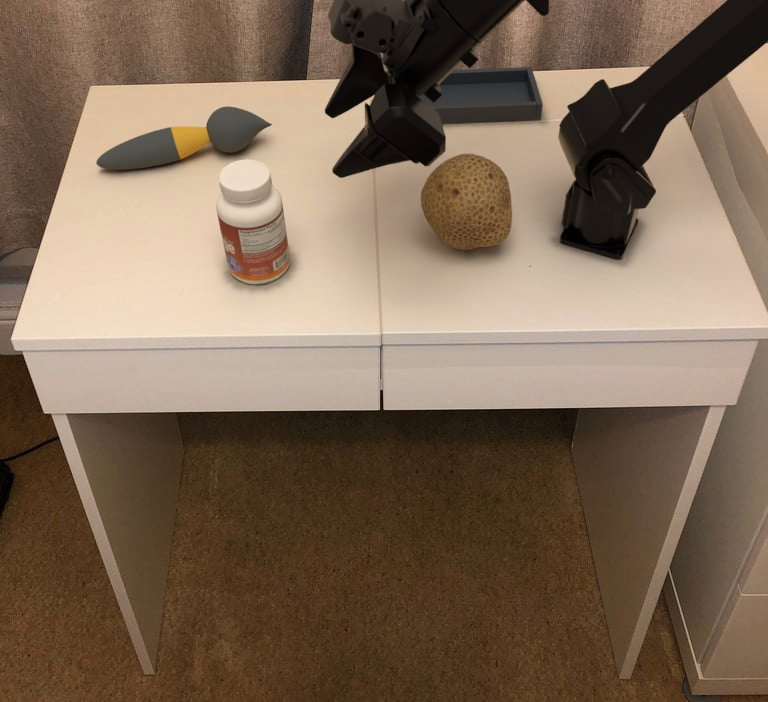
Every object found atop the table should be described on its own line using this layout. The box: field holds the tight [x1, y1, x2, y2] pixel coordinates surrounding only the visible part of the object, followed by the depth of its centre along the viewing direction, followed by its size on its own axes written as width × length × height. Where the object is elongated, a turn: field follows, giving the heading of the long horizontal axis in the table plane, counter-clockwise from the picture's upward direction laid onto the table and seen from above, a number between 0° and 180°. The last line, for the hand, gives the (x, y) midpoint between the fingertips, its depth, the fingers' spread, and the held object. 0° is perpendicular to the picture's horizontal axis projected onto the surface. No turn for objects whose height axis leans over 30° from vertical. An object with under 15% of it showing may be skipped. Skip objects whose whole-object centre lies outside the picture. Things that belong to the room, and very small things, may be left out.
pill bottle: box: [215, 159, 291, 285], centre depth 83 cm, size 6×6×11 cm
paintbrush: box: [95, 106, 273, 171], centre depth 97 cm, size 20×5×5 cm, turn 112°
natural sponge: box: [420, 153, 513, 251], centre depth 85 cm, size 9×9×10 cm
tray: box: [417, 66, 544, 125], centre depth 105 cm, size 15×8×2 cm, turn 92°
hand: (331, 143), depth 77 cm, fingers open, 9 cm apart
